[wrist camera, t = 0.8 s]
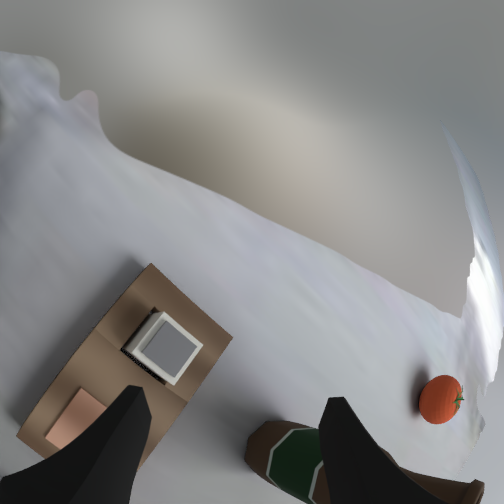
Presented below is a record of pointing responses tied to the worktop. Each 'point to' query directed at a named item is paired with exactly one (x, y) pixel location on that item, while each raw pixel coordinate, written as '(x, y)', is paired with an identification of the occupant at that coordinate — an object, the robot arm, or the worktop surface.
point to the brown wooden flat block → (123, 368)
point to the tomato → (440, 399)
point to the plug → (163, 346)
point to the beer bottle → (312, 469)
